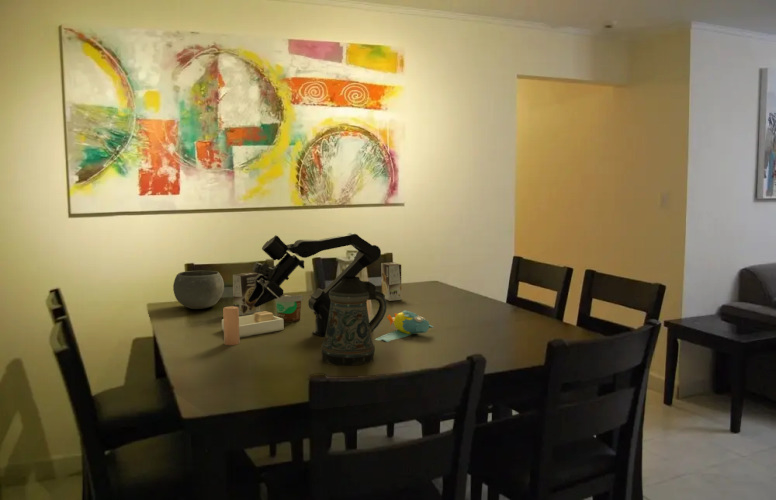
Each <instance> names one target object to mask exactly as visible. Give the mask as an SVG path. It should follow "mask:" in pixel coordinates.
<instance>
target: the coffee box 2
mask: <svg viewBox="0 0 776 500" xmlns="http://www.w3.org/2000/svg"><path fill="white" fill-rule="evenodd" d="M380 268H381V272H380V273H381V275H380V276H381V279H380V280H381V293H383V294H384V295H385V299H386V301H389V302H390V301H401V300H402V264H401V263H396V262H393V261H392V262H381V265H380Z"/></svg>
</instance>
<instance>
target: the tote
mask: <svg viewBox="0 0 776 500" xmlns="http://www.w3.org/2000/svg"><path fill="white" fill-rule="evenodd" d="M284 325H285V323H284V319H282V318H279V317H277V316H275V315H273V320H271V321H264V322H258V323H254V314H248V315H240V316H239V336H240V338H245V337H246V338H247V337H250V336H251V337H252V336H256V335H262V334H267V333H272V332H278V331H279V332H280V331H284V330H285V328H284V327H285V326H284ZM221 330H222V331H223V332H224V318H223V319H221Z"/></svg>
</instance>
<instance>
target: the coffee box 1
mask: <svg viewBox="0 0 776 500" xmlns="http://www.w3.org/2000/svg"><path fill="white" fill-rule="evenodd" d="M258 274H260V273H255V272H242V273H236V274H235V273H234V274H232V300H233V301H232V305H233V306H235V307H239V316H247V315H253V314H254V313H257V312H261V305H260V306H258V307H255V306H254V304H255V302H256V301H257V299H258V298H257V299H256V300H254V301H252V302H249V301H248V299H249V297H250V296H251V294H252V292H253V290H254V288H255V280H257V279H256V278H255V277H256V276H257V275H258Z"/></svg>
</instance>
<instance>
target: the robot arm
mask: <svg viewBox="0 0 776 500" xmlns="http://www.w3.org/2000/svg"><path fill="white" fill-rule="evenodd" d="M349 246H351V247H353V248H354V249H355V250H356V251H357V252H356V255H355V257H354V259H353V261H351V262H350V264H348V265H347V267H345V268H344V269H343V270H342V272H341V273H340V274H338V276H336V278H335V279H334V280H332V282H330V284H329V285H327V286H326V287H325V288H324V289H322V288H320V287H318V288H317V289H315V291H314V292H313V293H312V294H310V295H309V296H310V298H309V300H308V301H307V302H308V307H309V309H310V310H311V311H312V312H313V314H314V315H315V330H312V334H315V335H318V336H321V337H325V334H326V330H327V324H328V318H329V310H330V304H331V300H330V298H329V291H330V290H331V289H332V288H333V287H335V286H336V285H337V284H338V283H340V282H341V281H342V278H343V277H357V275H359V273H361V271H362V270H363V269H365V268H367V267H369V266H371V265H373V264H374V263H375V262H377V261H378V260H380V258H381V256H382V250H381V247H379V246H378V245H375V244H373V243H370V242H368V241H367V240H365V239H363V238H362V237H361V236H359V235H358V234H357V233H353V232H349V233H345V234H341V235H336V236H332V237H331V236H330V237H326V238H321V239H298V240H295V241H294V243H290V244H286V243H285V242H284V241H282V239H281V238H280V237H279V236H278V235H276V234H275V235H274V236H273V237H272V238H270V239H269V240H267V241H266V242H265V243H264V245H262V247H261V250H262V251H263V252H264V253H265V254H266V255H267V256H268V257H270V258H271V259H272V260H273V261H276V260H277V261H278V262H277V264H275V265H272V266H269V264H267V263H265V262H262V263H260V262H256V261H255V262H254V264H253V267H252V269H251V271H252V273H259V274H258V275H257V276H256V277H255V278H256V279H257V280H255V288H254V290H253V292H252V294H251V296H250V297H249V299H248V301H249V302H252V301H254V300H256V299H257V298H258V299H257V301H256V302H255V304H254V306H255V307H258V306H260V307H261V306H262V305H265V304H267V303H268V302H272V301H275V300H274V299H277V297H276V296H278V297H279V298H280V297H281V296H282V295H284V289H283V288H282V287H281V286H282V284H283V283H284V282H285V281H288V280H289V279H290V275H292V273H293V272H294V271H295V270H296V269H297V268H298V267H299V268H301V269H305V261H304V260H303V259H306V258H310V257H312V256H314V255H315V256H316V254H317V255H318V253H320V252H322V251H327V250H328V251H329V250H332V249H333V250H334V249H338V248H343V247H349ZM290 253H291V254H292V255H291V254H290ZM297 256H298V257H297ZM299 257H300V258H303V259H301V260H300V259H299Z"/></svg>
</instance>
